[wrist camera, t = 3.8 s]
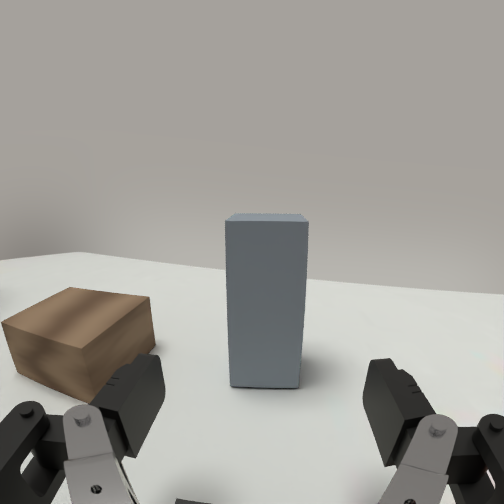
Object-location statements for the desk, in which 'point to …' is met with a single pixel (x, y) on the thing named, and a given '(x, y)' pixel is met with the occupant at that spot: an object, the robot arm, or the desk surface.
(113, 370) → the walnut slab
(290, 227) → the slate pillar
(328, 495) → the desk surface
